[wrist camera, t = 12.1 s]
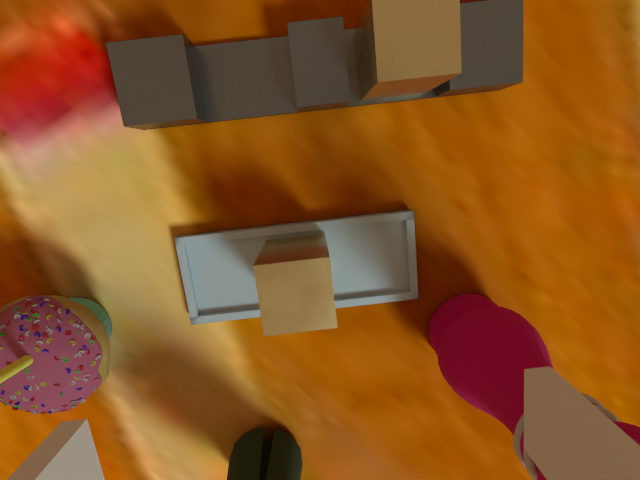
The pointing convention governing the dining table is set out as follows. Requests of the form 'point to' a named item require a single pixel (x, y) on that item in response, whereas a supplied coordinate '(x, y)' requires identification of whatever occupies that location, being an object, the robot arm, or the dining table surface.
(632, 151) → the dining table surface
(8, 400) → the cupcake
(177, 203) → the dining table surface
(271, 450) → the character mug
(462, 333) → the pepper mill
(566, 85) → the dining table surface
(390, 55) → the cream upright block
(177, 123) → the gray notched bar
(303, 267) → the beige rectangular block
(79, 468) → the robot arm
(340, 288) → the tray
